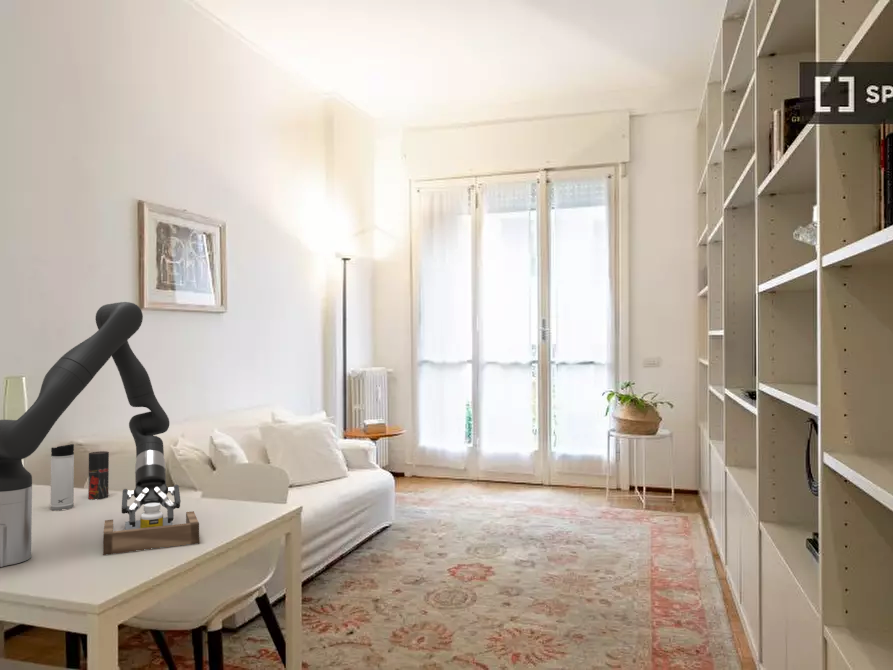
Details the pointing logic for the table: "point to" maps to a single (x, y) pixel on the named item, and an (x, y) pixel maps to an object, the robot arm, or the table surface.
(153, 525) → the supplement bottle
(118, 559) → the table surface
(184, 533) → the walnut bay
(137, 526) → the slate pad
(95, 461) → the deodorant
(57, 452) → the travel mug
